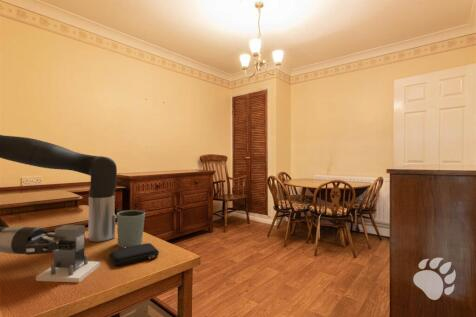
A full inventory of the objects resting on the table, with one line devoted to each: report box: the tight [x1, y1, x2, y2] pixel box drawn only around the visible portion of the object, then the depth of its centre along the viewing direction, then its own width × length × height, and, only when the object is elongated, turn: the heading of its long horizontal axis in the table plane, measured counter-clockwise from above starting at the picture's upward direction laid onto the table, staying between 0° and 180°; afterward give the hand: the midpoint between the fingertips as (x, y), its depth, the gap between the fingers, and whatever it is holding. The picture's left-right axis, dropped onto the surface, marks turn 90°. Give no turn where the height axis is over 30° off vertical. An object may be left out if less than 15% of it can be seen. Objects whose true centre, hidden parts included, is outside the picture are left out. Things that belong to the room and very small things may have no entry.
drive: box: [53, 224, 86, 268], centre depth 72 cm, size 4×6×11 cm
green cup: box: [116, 209, 146, 248], centre depth 96 cm, size 10×10×12 cm
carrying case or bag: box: [108, 242, 160, 267], centre depth 84 cm, size 11×3×15 cm
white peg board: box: [35, 254, 101, 283], centre depth 73 cm, size 10×12×4 cm
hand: (79, 242), depth 72 cm, fingers closed on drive, 4 cm apart
